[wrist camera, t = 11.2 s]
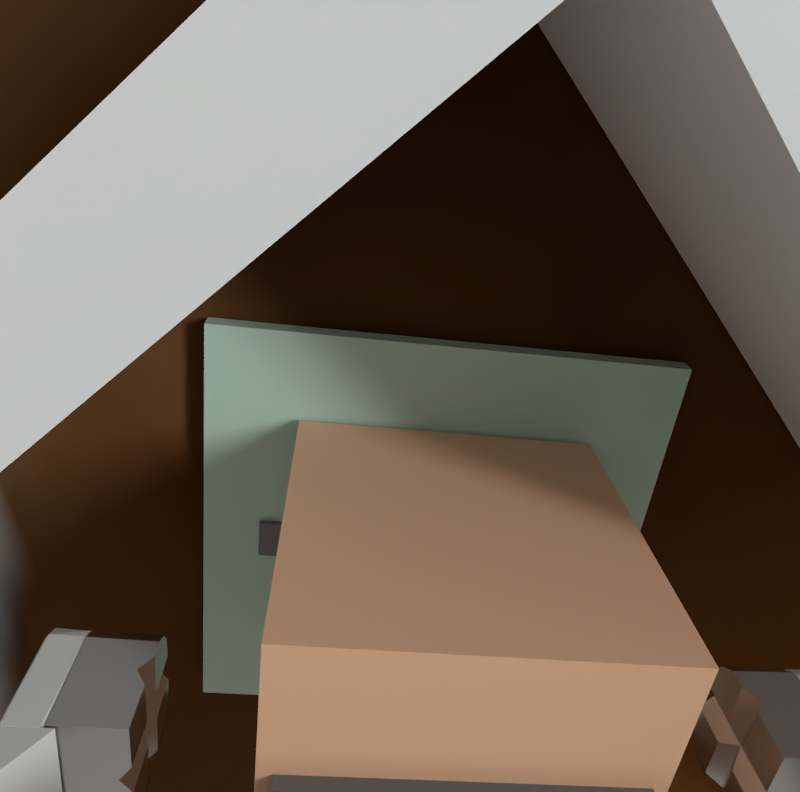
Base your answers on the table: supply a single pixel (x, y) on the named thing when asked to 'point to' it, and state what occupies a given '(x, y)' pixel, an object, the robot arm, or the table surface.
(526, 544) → the cube
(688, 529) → the table surface
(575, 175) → the table surface
